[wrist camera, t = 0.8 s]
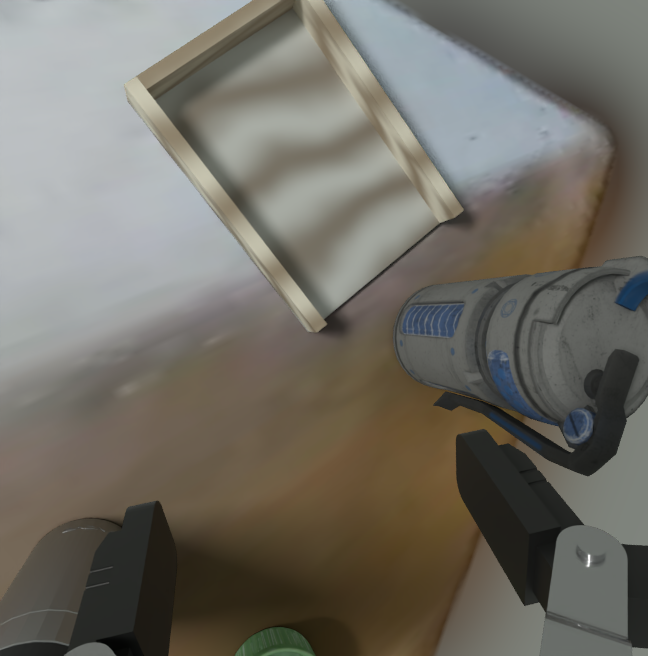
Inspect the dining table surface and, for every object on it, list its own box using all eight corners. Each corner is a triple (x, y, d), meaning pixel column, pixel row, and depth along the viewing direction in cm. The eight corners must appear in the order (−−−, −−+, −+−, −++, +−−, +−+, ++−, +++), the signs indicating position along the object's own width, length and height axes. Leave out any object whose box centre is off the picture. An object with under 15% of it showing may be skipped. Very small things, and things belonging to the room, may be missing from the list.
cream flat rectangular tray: (445, 216, 52) (464, 210, 49) (307, 331, 49) (317, 332, 45) (293, -7, 48) (301, -32, 44) (128, 102, 44) (123, 84, 41)
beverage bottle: (364, 389, 50) (532, 457, 26) (410, 263, 51) (612, 218, 27) (451, 420, 53) (676, 509, 29) (493, 300, 54) (744, 289, 30)
